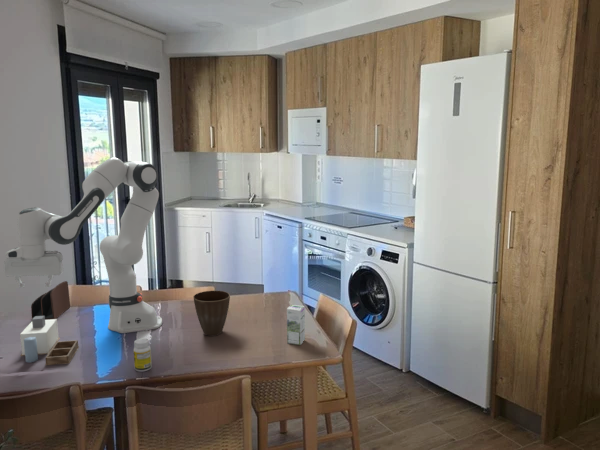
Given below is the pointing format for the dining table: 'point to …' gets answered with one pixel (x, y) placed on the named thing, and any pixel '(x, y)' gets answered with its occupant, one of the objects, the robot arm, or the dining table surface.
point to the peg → (30, 349)
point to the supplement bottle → (142, 355)
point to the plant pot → (212, 310)
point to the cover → (41, 334)
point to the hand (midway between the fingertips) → (35, 286)
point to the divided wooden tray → (62, 352)
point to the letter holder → (52, 302)
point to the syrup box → (295, 324)
